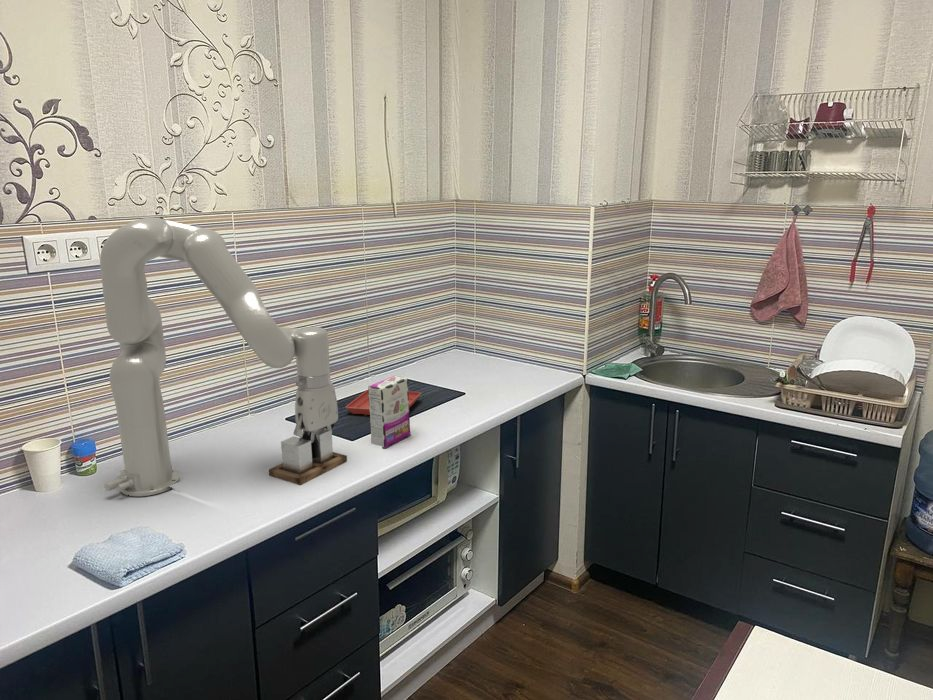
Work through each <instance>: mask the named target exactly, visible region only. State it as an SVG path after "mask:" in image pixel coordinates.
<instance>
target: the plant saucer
mask: <svg viewBox="0 0 933 700" xmlns="http://www.w3.org/2000/svg"><path fill="white" fill-rule="evenodd" d="M408 395H409V409H410V408H411V407H412V406H413V405H414V404H415V403H416V402H417V401H418V399H419V398H420V396H421V395H422V392H419V391H408ZM345 409H346V410H347V411H349V412H350V413H351V414H352V415H354V414H364V415H363V416H367V415H370V409H369V393H368V389H366V390H365V391H364V392H362V393H361V394H360V395H358V396H357V397H356V398H355V399H354V400H352V401H351V402H350V403H348V404H347V405H346V406H345Z"/></svg>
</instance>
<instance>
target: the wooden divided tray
mask: <svg viewBox="0 0 933 700" xmlns="http://www.w3.org/2000/svg"><path fill="white" fill-rule="evenodd" d="M347 462H348V455H346V454H342V453H338V452H335V451H333V459H332V460H330V461H328V462H326V463H324V464H319V463H315V462H312V465H313V469H311V470H309V471H307V472H305V473H303V474H301V475H298V474H295V473H291V472H288V471H285V470H283V462H282V463H279V464H277V465H275V466H273V467H271V468H268V475H269V477H273V478H276V479H279V480H281V481H285V482H289V483H292V484H294V485H299V486H302V485H304V484H306V483H308V482H309V481H311V480H314V479H316V478H318V477H319V476H321V475H324V474H326V473H328V472H329V471H332V470H333V469H336V468H338V467H339V466H341V465H343V464H345V463H347Z"/></svg>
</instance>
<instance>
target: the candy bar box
mask: <svg viewBox="0 0 933 700" xmlns="http://www.w3.org/2000/svg"><path fill="white" fill-rule="evenodd" d="M408 380H409V378H408V377H404V376H398V375H392V376H390V377H388V378H384V379H383V380H381V381H378V382H376V383H373V384H371V385H368V387H367V390H368V393H369V409H370V416H369V423H370V437H371V438H370V439H371V440H370V441H371V444H372V445H376V446H380V447H381V448H382V449H387V448H389V447H391V446H393V445H395V444H397V443H399V442H401V441H402V440H405V439H407V437H410V436H411V425H410V424H411V421H410V420H411V419H410V408H409V395H408V392H409V381H408Z"/></svg>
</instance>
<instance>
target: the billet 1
mask: <svg viewBox="0 0 933 700" xmlns="http://www.w3.org/2000/svg"><path fill="white" fill-rule="evenodd" d="M280 448H281V459H282V463H283V470H285V471H288V472H291V473H295V474H298V475H301V474H303V473H305V472H307V471H309V470H311V469H313V465H312V450H311V441H310V440H306V439H302V438H300V437H298V436H295V435H294V436H291V437H289V438H287V439H284V440H282V441H281V442H280Z"/></svg>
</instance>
